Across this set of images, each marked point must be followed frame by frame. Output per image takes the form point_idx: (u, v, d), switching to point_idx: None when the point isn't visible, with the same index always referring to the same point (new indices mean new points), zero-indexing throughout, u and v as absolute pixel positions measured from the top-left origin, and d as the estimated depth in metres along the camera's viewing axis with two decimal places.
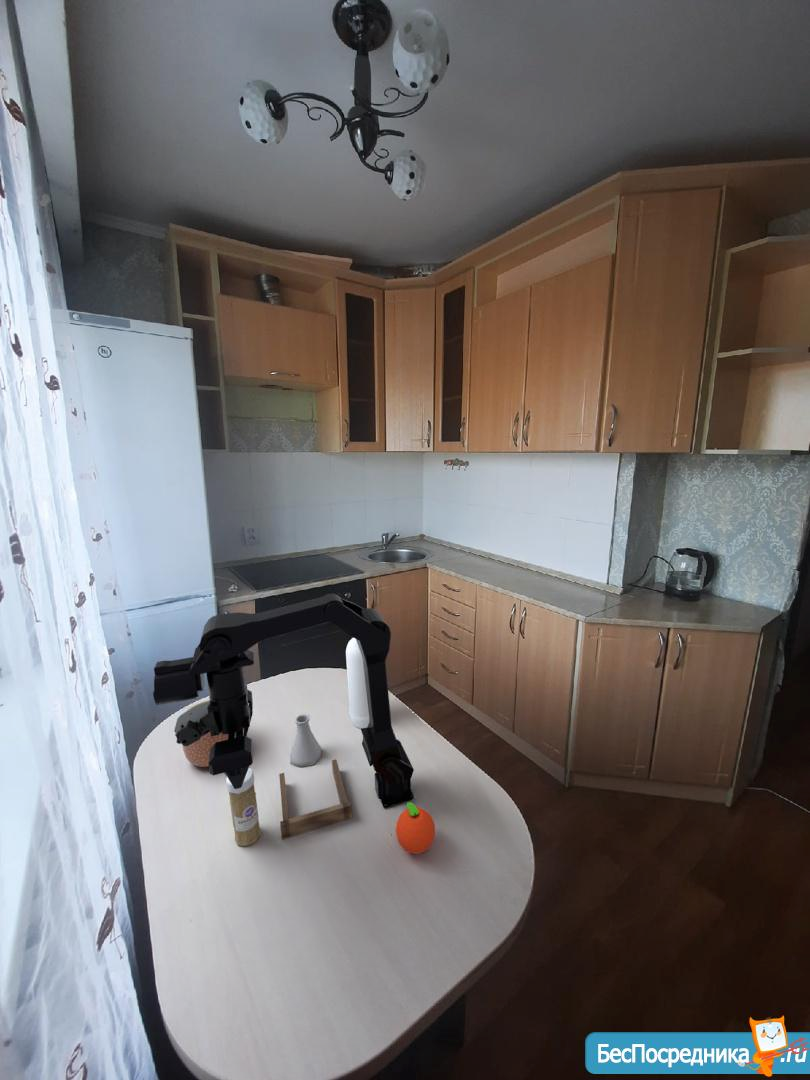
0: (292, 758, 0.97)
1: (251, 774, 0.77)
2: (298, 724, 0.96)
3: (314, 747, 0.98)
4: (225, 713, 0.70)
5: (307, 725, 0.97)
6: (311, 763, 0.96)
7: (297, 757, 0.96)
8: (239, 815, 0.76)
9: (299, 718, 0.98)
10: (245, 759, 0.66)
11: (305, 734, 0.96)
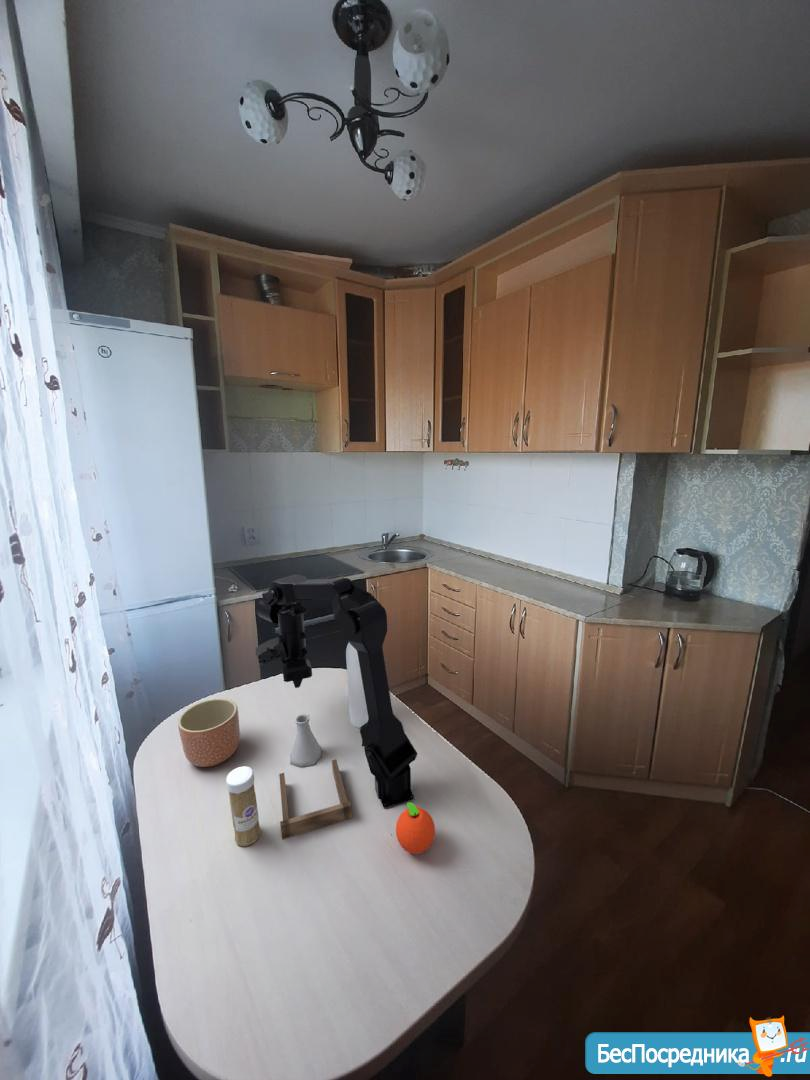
0: (292, 758, 0.97)
1: (251, 774, 0.77)
2: (298, 724, 0.96)
3: (314, 747, 0.98)
4: (291, 643, 1.00)
5: (307, 725, 0.97)
6: (311, 763, 0.96)
7: (297, 757, 0.96)
8: (239, 815, 0.76)
9: (299, 718, 0.98)
10: (307, 672, 0.96)
11: (305, 734, 0.96)
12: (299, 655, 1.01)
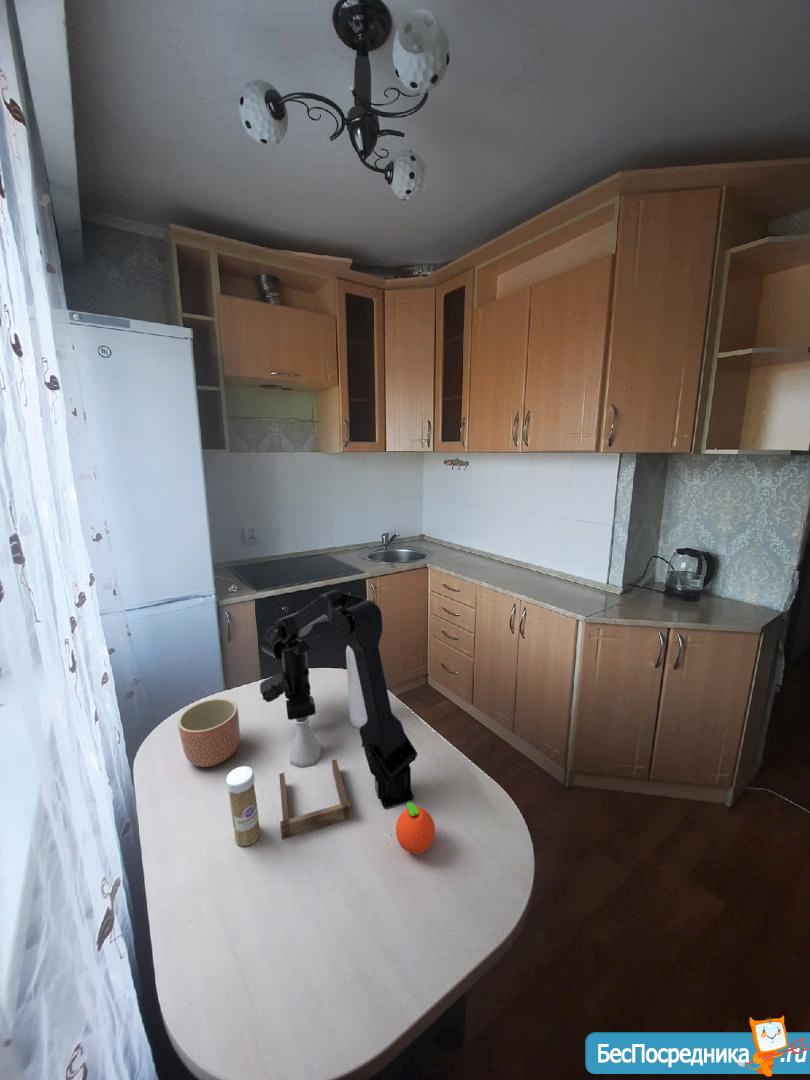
0: (292, 758, 0.97)
1: (251, 774, 0.77)
2: (298, 724, 0.96)
3: (314, 747, 0.98)
4: (295, 679, 1.02)
5: (307, 725, 0.97)
6: (311, 763, 0.96)
7: (297, 757, 0.96)
8: (239, 815, 0.76)
9: (299, 718, 0.98)
10: (311, 710, 0.98)
11: (305, 734, 0.96)
12: (302, 691, 1.03)
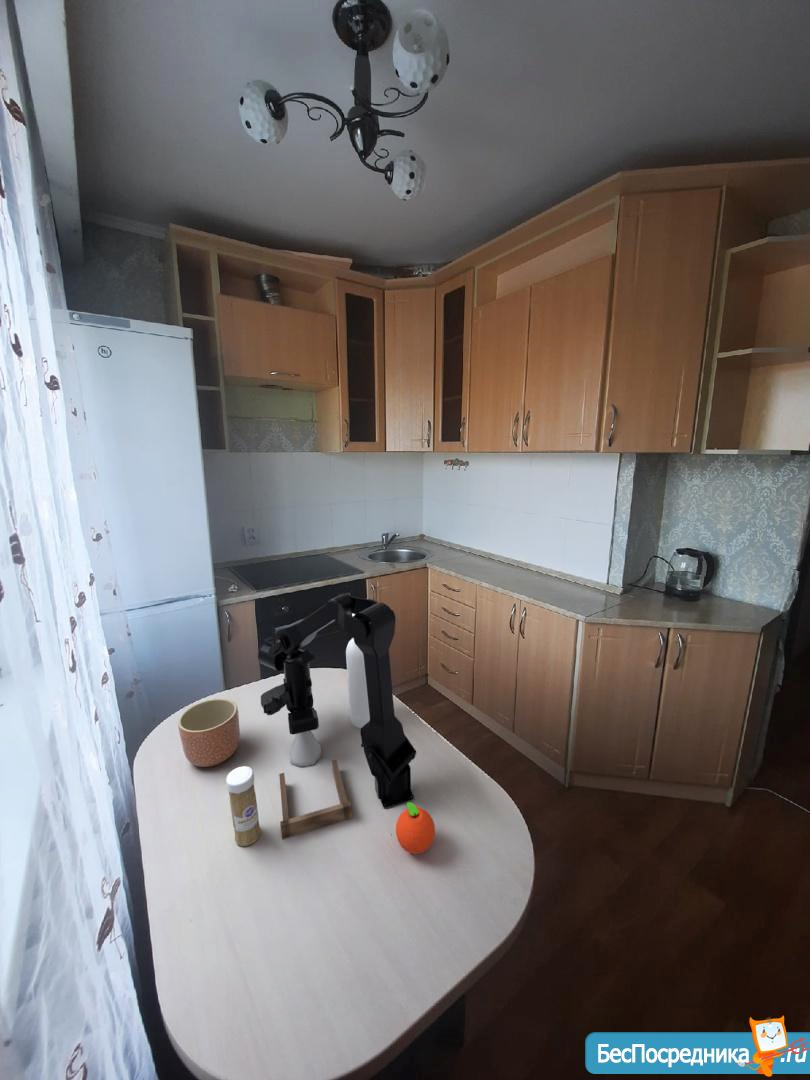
0: (292, 758, 0.96)
1: (251, 774, 0.77)
2: None
3: (314, 747, 0.97)
4: (297, 692, 0.97)
5: None
6: (311, 763, 0.96)
7: (297, 757, 0.96)
8: (239, 815, 0.76)
9: None
10: (314, 724, 0.93)
11: (305, 735, 0.96)
12: (305, 703, 0.99)
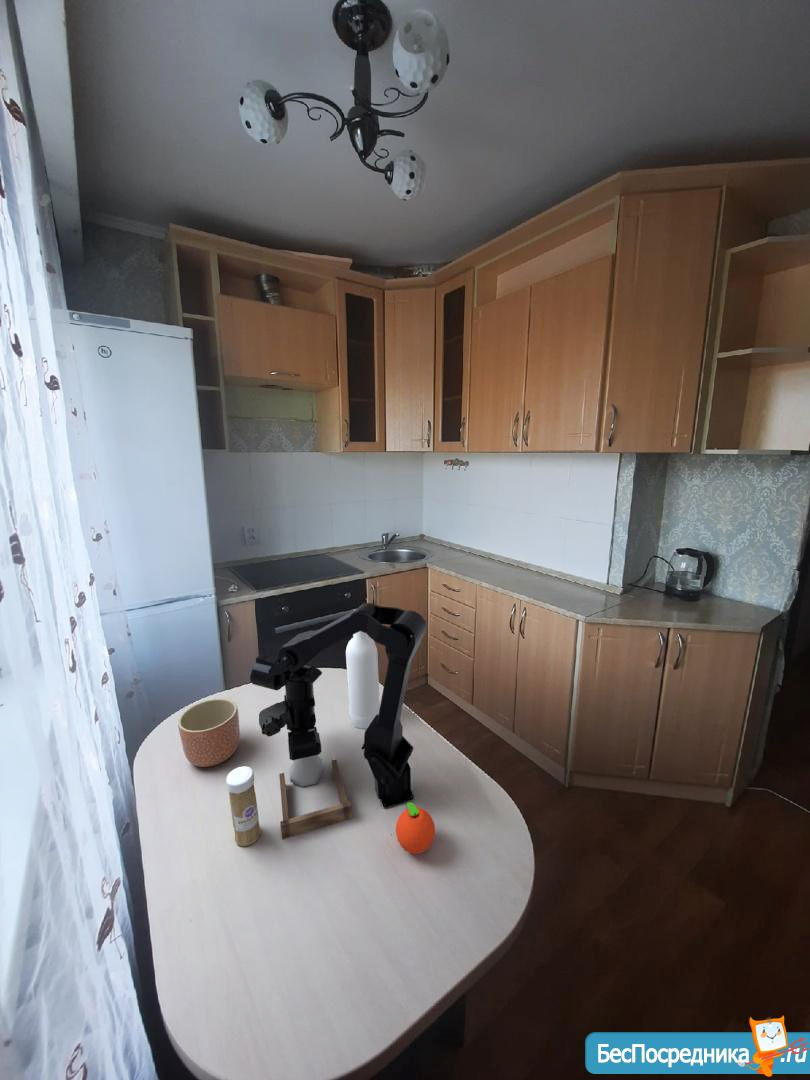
0: (292, 777, 0.91)
1: (251, 774, 0.77)
2: None
3: (316, 766, 0.91)
4: (298, 712, 0.89)
5: None
6: (313, 782, 0.91)
7: (298, 777, 0.90)
8: (239, 815, 0.76)
9: None
10: (316, 749, 0.85)
11: (307, 757, 0.89)
12: (307, 724, 0.91)
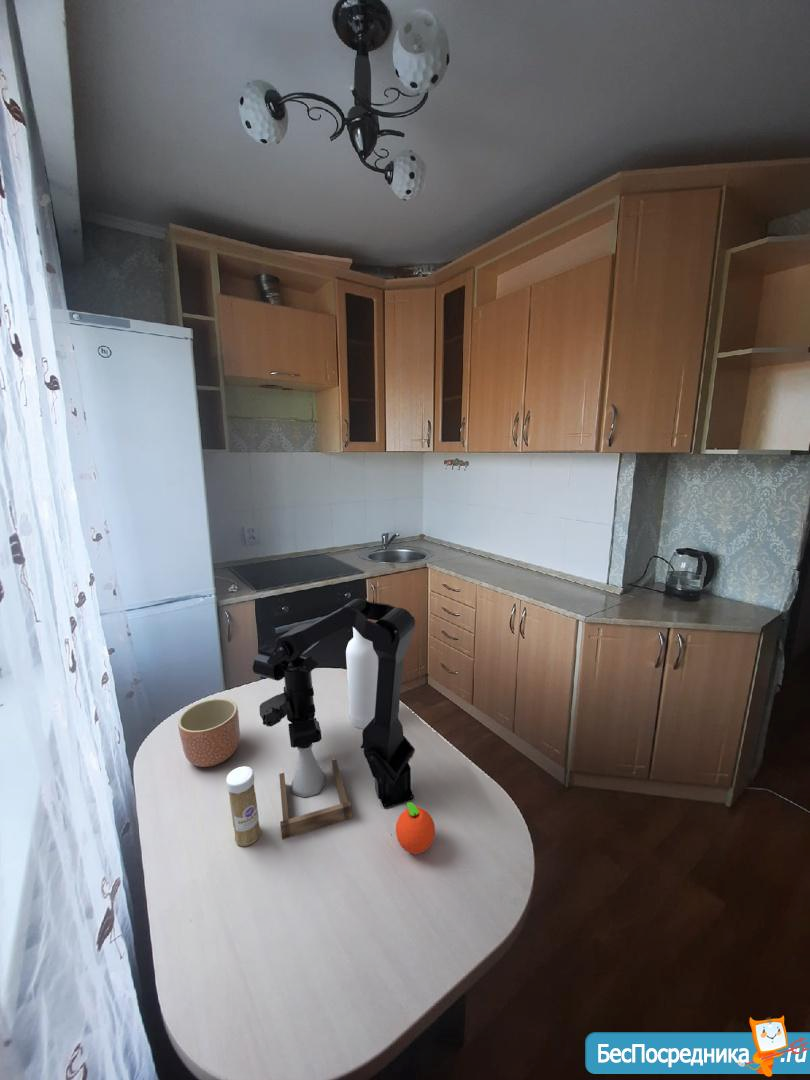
0: (294, 788, 0.88)
1: (251, 774, 0.77)
2: (300, 750, 0.88)
3: (318, 774, 0.90)
4: (298, 701, 0.92)
5: (310, 751, 0.89)
6: (315, 792, 0.88)
7: (300, 787, 0.88)
8: (239, 815, 0.76)
9: None
10: (317, 736, 0.88)
11: (308, 761, 0.88)
12: (307, 714, 0.93)
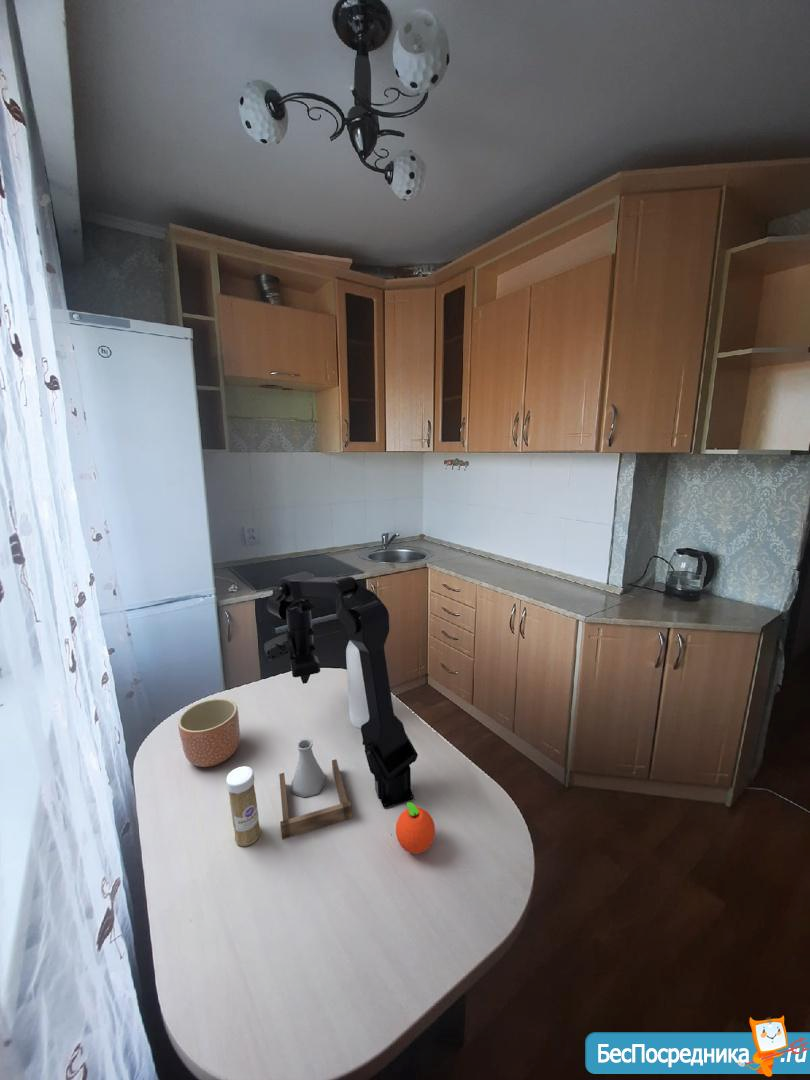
0: (294, 788, 0.88)
1: (251, 774, 0.77)
2: (301, 750, 0.88)
3: (318, 774, 0.90)
4: (299, 639, 1.01)
5: (310, 751, 0.89)
6: (315, 792, 0.88)
7: (300, 787, 0.88)
8: (239, 815, 0.76)
9: (301, 743, 0.90)
10: (316, 668, 0.97)
11: (308, 761, 0.88)
12: (307, 651, 1.03)
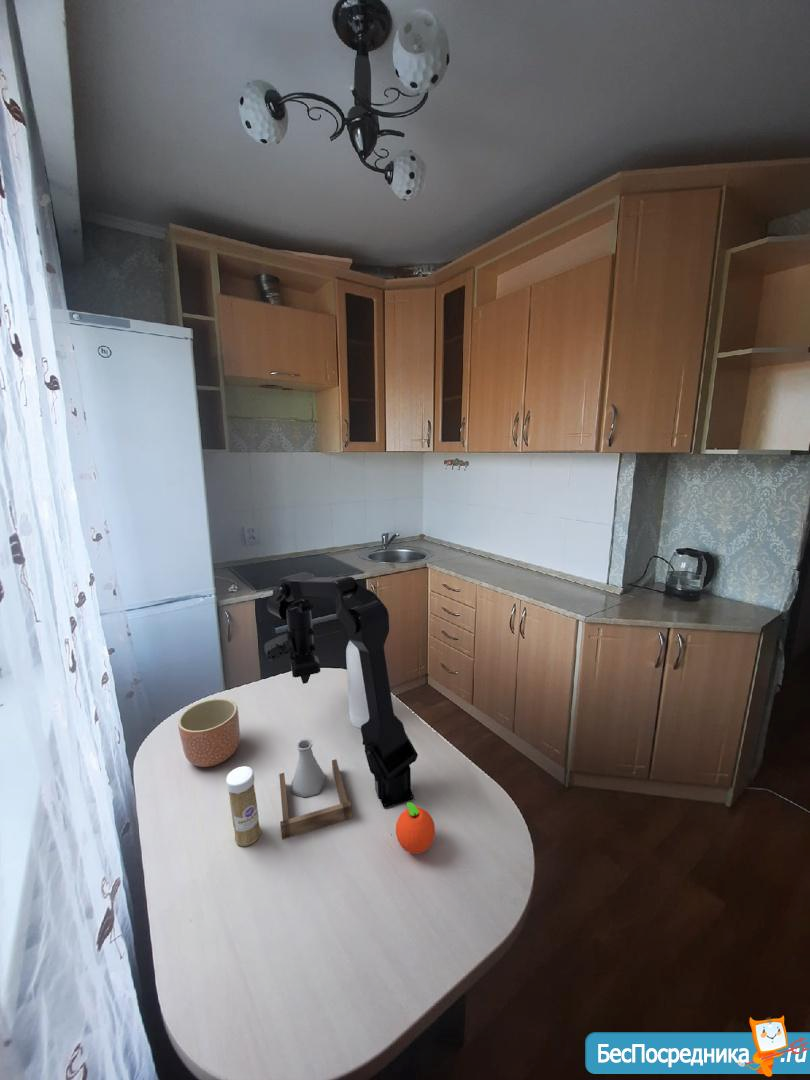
0: (294, 788, 0.88)
1: (251, 774, 0.77)
2: (300, 750, 0.88)
3: (318, 774, 0.90)
4: (299, 639, 1.01)
5: (310, 751, 0.89)
6: (315, 792, 0.88)
7: (300, 787, 0.88)
8: (239, 815, 0.76)
9: (301, 743, 0.90)
10: (316, 668, 0.97)
11: (308, 761, 0.88)
12: (307, 651, 1.03)
